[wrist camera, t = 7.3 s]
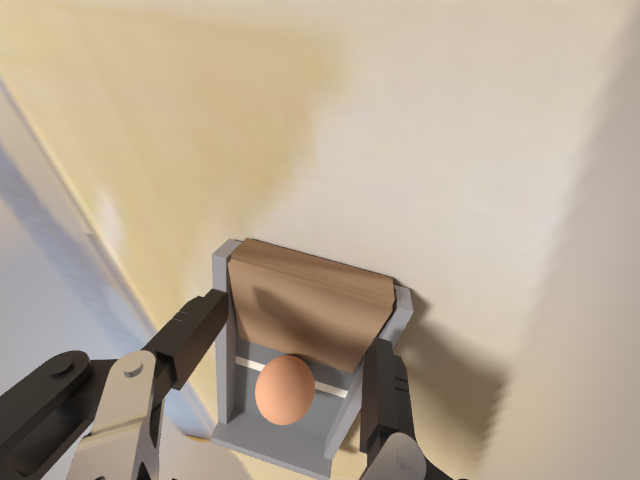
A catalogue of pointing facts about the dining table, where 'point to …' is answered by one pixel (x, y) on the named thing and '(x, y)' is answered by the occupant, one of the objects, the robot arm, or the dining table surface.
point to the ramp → (307, 304)
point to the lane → (326, 409)
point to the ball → (285, 390)
